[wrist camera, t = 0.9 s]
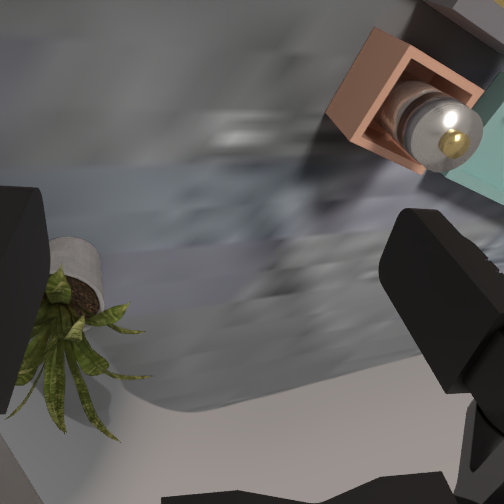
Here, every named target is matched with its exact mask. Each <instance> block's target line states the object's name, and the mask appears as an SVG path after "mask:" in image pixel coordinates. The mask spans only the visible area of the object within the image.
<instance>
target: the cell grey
mask: <svg viewBox="0 0 504 504" xmlns="http://www.w3.org/2000/svg"><path fill="white" fill-rule="evenodd" d="M373 120H374V121H375V122H376V123H377V124H378V125H380V126H381V127H382V128H383V129H384V130H385V131H386V132H387V133H388V134H389V135H390V136H391V137H393V138H394V139H395V140H396V141H397V142H398V143H399V144H400V145H401V147H402V148H403V149H404V150H405V151H407V152H408V153H409V154H410V155H411V156H412V157H413V158H414V159H415V160H416V161H417V162H419V163H420V164H422V165H423V166H424V167H425V168H426V169H428V170H430V171H433V172H446V171H450V170H453V169H455V168H457V167H459V166H460V165H462V164H463V163H465V162H466V161H467V160H468V159H469V158H470V157H471V156H472V155H473V154H474V152H475V151H476V150H477V148H478V146H479V144H480V142H481V139H482V135H483V123H482V120H481V118H480V116H479V115H478V114H477V113H476V112H475V111H473V110H472V109H470V108H469V107H468V106H467V105H465V104H463V103H462V102H460V101H458V100H457V99H455V98H453V97H452V96H450V95H448V94H446V93H443V92H442V91H440V90H438V89H437V88H435V87H433V86H431V85H430V84H428V83H426V82H425V81H423V80H421V79H420V78H418V77H416V76H415V75H413V74H411V73H410V72H408V71H406V70H405V69H404V71H403V72H402V74H401V75H400V77H399V78H398V80H397V81H396V83H395V85H394V86H393V88H392V89H391V91H390V92H389V94H388V96H387V97H386V99H385V100H384V102H383V103H382V105H381V106H380V108H379V110H378V111H377V113H376V114H375V116H374V117H373Z"/></svg>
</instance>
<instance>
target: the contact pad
mask: <svg viewBox="0 0 504 504" xmlns="http://www.w3.org/2000/svg"><path fill="white" fill-rule="evenodd" d="M493 1H495V2H496V3H497V4H499V5H500V6H501V7H503V8H504V0H493Z"/></svg>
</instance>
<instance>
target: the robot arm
mask: <svg viewBox="0 0 504 504" xmlns="http://www.w3.org/2000/svg"><path fill="white" fill-rule="evenodd" d="M50 263H51V257H50V246H49V240H48V233H47V226H46V219H45V213H44V206H43V199H42V195H41V192H40V190H39V188H35V187H16V186H0V414H6V411H7V408H8V405H9V402H10V399H11V396H12V392H13V389H14V386H15V383H16V380H17V377H18V374H19V370H20V367H21V364H22V361H23V358H24V355H25V352H26V348H27V345H28V342H29V339H30V336H31V333H32V329H33V326H34V323H35V320H36V317H37V314H38V311H39V307H40V304H41V301H42V298H43V295H44V292H45V289H46V285H47V282H48V279H49V274H50ZM379 279H380V282H381V284H382V286H383V288H384V290H385V291H386V293H387V295H388V296H389V298H390V300H391V302H392V303H393V305H394V307H395V308H396V310H397V312H398V313H399V315H400V317H401V319H402V320H403V322H404V324H405V325H406V327H407V329H408V330H409V332H410V334H411V335H412V337H413V339H414V341H415V342H416V344H417V346H418V347H419V349H420V351H421V352H422V354H423V356H424V357H425V359H426V361H427V363H428V364H429V366H430V368H431V369H432V371H433V373H434V374H435V376H436V378H437V380H438V381H439V383H440V385H441V386H442V388H443V390H444V391H445V393H446V394H456V393H471V394H472V396H473V397H474V399H473V401H472V402H471V403H470V405H469V406H468V408H467V412H466V419H465V427H464V435H463V443H462V450H461V458H460V466H459V473H458V480H457V484H456V488H455V490H454V493H452V491H451V489H450V487H449V485H448V483H447V481H446V479H445V477H444V475H443V473H442V472H441V471H439V472H428V473H418V474H408V475H396V476H386V477H379V478H377V479H374V480H372V481H370V482H367V483H365V484H363V485H361V486H358V487H356V488H354V489H352V490H349V491H347V492H345V493H342V494H340V495H338V496H335V497H333V498H331V499H329V500H326V501H324V502H321V503H306V502H300V501H295V500H289V499H283V498H278V497H273V496H267V495H262V494H256V493H250V492H244V491H239V490H235V491H224V492H214V493H203V494H192V495H181V496H171V497H162V498H161V504H504V274H503V273H499V269H498V268H497V267H496V266H495V265H494V264H493V263H492V262H491V261H488V257H487V256H486V255H485V254H484V253H483V252H482V251H481V250H480V249H479V248H478V247H477V246H476V245H475V244H474V243H473V242H471V241H470V240H468V239H467V238H465V237H464V236H462V235H461V234H460V233H459V232H458V231H457V230H456V228H455V227H454V226H453V225H452V224H451V223H450V222H449V221H448V220H447V219H446V218H445V217H444V216H443V215H442V213H441V212H439V211H438V210H434V209H416V208H405V209H403V210H402V211H401V212H400V213H399V215H398V217H397V219H396V222H395V224H394V227H393V229H392V232H391V234H390V237H389V239H388V241H387V244H386V246H385V249H384V251H383V254H382V256H381V259H380V262H379ZM0 504H44V503H43V502H42V500H41V499H40V497H39V496H38V494H37V492H36V491H35V489H34V487H33V486H32V484H31V482H30V481H29V479H28V478H27V476H26V474H25V473H24V471H23V470H22V468H21V466H20V465H19V463H18V461H17V460H16V458H15V457H14V455H13V453H12V452H11V450H10V449H9V447H8V445H7V444H6V442H5V440H4V439H3V437H2V436H1V434H0Z"/></svg>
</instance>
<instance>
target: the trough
mask: <svg viewBox="0 0 504 504" xmlns="http://www.w3.org/2000/svg"><path fill="white" fill-rule="evenodd" d="M472 110H473V111H475V112H476V113H477V114H478V115H479V116H480V118H481V120H482V123H483V135H482V139H481V142H480V144H479V146H478V148H477V150H476V151H475V152H474V154H473V155H472V156H471V157H470V158H469V159H468V160H467V161H466V162H465V163H463V164H462V165H460V166H459V167H457V168H455V169H453V170H450V171H446V172H440V173H441V174H442V175H443V176H444V177H446V178H448V179H450V180H452V181H454V182H456V183H458V184H461V185H463V186H465V187H467V188H469V189H471V190H473V191H475V192H477V193H479V194H481V195H483V196H485V197H488V198H490V199H492V200H494V201H496V202H498V203H500V204H502V205H504V73H502V72H500V73H499V74H498V75H497V77H496V78H495V79H494V81H493V82H492V83H491V85H490V86H489V87H488V88H487V90H486V91H485V92H484V94H483V95H482V96H481V98H480V99H479V100H478V102H477V103H476V104H475V106H474V107H473V108H472Z"/></svg>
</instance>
